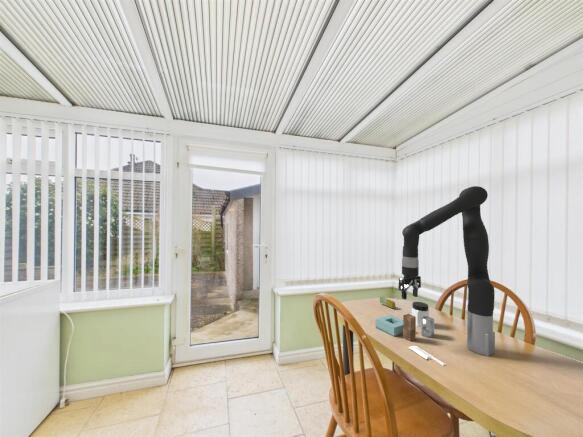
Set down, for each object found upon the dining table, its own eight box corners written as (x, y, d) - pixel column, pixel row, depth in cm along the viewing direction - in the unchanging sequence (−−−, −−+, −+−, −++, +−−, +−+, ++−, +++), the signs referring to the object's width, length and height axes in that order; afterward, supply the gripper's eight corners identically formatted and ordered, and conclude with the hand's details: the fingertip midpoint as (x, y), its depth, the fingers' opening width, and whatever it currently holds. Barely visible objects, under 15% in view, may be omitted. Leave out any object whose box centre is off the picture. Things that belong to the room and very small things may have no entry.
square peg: (415, 340, 118) (415, 316, 118) (410, 342, 117) (410, 318, 117) (408, 336, 122) (408, 313, 122) (403, 338, 120) (403, 315, 120)
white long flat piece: (436, 366, 96) (437, 363, 96) (408, 348, 110) (408, 345, 110) (446, 366, 97) (446, 363, 97) (416, 348, 111) (417, 345, 111)
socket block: (409, 332, 127) (409, 322, 127) (394, 337, 121) (394, 327, 121) (390, 323, 138) (390, 314, 138) (375, 327, 132) (375, 318, 132)
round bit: (436, 337, 122) (436, 319, 122) (429, 339, 119) (429, 322, 119) (425, 332, 127) (425, 315, 127) (418, 334, 124) (419, 317, 124)
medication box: (379, 303, 171) (379, 297, 171) (382, 302, 172) (382, 296, 172) (392, 308, 160) (392, 302, 160) (395, 307, 161) (395, 301, 161)
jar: (425, 329, 130) (425, 308, 130) (409, 324, 136) (410, 304, 136) (430, 324, 136) (430, 304, 136) (415, 320, 142) (415, 300, 142)
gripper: (407, 268, 113) (407, 302, 113) (426, 265, 119) (425, 297, 119) (394, 265, 119) (393, 297, 119) (412, 263, 126) (411, 293, 126)
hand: (409, 297), depth 119 cm, fingers open, 8 cm apart
